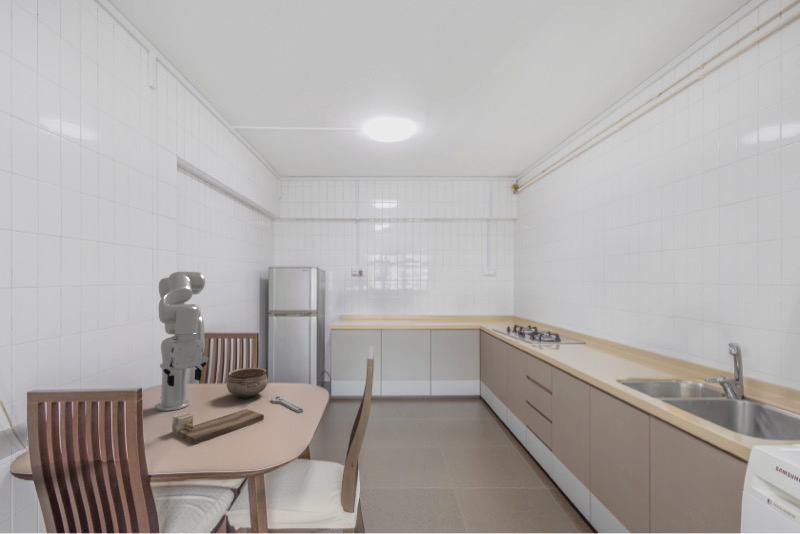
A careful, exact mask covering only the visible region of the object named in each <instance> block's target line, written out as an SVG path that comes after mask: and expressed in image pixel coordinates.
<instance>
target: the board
mask: <svg viewBox="0 0 800 534" xmlns="http://www.w3.org/2000/svg"><path fill="white" fill-rule="evenodd" d="M264 417H265V415H264V414H262V413H261V412H260V413H259V412H256V411H253V410H252V409H248V408H246V409H242V410H239V411H236V412H233V413H230V414H227V415H224V416H220V417H217V418H214V419H211V420H207V421H204V422H201V423H198V424H195V425H194V424H193V426H194V428H193V429H190V428H185V429H181V430H178V435H177V437H178V438H180V439H183V440H185V441H186V442H189V443H190V444H192V445H197V444H200V443H203V442H205V441H208V440H211V439H214V438H217V437H219V436H221V435H225V434H227V433H231V432H233V431H236V430H239V429H241V428H244V427H247V426H249V425H252V424H256V423H259V422H261V421H264V420H265V418H264Z"/></svg>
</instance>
